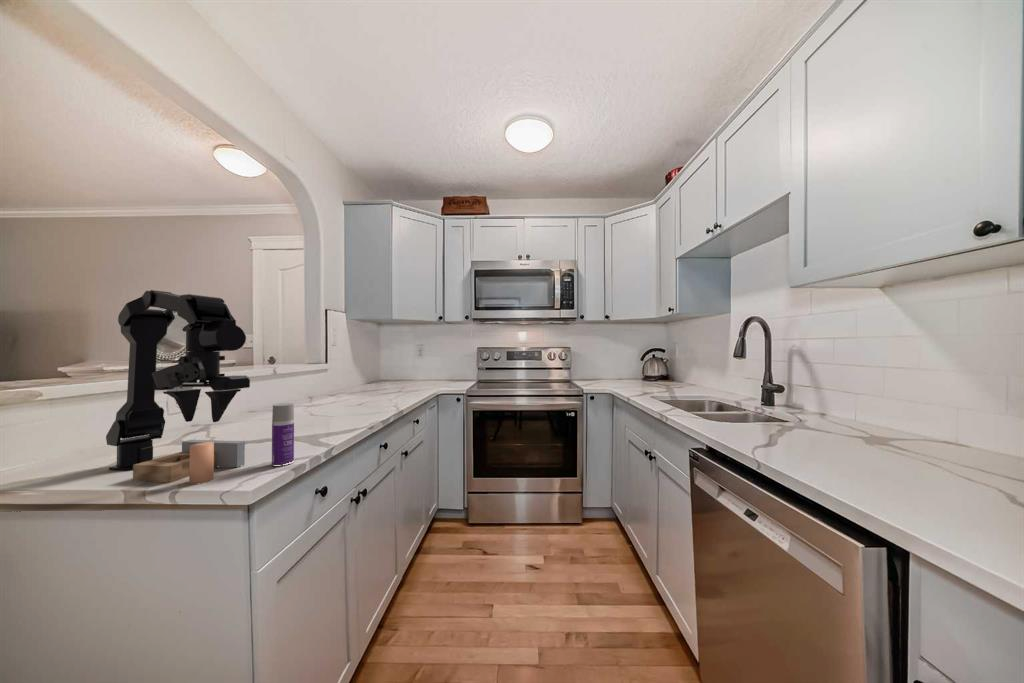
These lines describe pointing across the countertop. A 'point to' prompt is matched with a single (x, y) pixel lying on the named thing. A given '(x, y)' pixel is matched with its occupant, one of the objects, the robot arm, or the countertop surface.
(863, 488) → the countertop surface
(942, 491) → the countertop surface
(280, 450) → the container
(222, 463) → the backstop wall
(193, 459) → the dowel
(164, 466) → the socket block
